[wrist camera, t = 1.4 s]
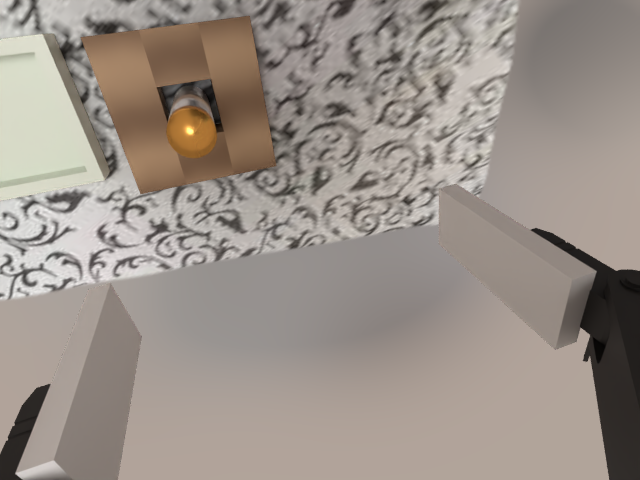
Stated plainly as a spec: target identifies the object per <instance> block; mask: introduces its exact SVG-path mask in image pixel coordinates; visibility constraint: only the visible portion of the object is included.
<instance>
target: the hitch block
mask: <svg viewBox="0 0 640 480" xmlns="http://www.w3.org/2000/svg"><path fill="white" fill-rule="evenodd" d="M81 40H82V42H83V45H84V48H85V50H86V53H87V55H88V58H89V61H90V63H91V66H92V68H93V71H94V74H95V76H96V79H97V81H98V84H99V87H100V89H101V92H102V94H103V97H104V100H105V102H106V105H107V108H108V110H109V113H110V115H111V118H112V121H113V123H114V126H115V128H116V131H117V134H118V136H119V139H120V141H121V144H122V147H123V149H124V152H125V154H126V157H127V160H128V162H129V165H130V168H131V170H132V173H133V175H134V178H135V181H136V183H137V186H138V188H139V191H140V194H143V193H148V192H153V191H158V190H163V189H167V188H172V187H177V186H182V185H187V184H192V183H196V182H201V181H206V180H211V179H216V178H221V177H225V176H230V175H235V174H240V173H245V172H250V171H255V170H259V169H264V168H269V167H274V166H276V161H275V156H274V150H273V145H272V139H271V133H270V128H269V122H268V116H267V111H266V105H265V100H264V94H263V88H262V83H261V77H260V71H259V66H258V60H257V55H256V49H255V43H254V38H253V32H252V26H251V21H250V16H245V17H237V18H229V19H221V20H214V21H206V22H198V23H190V24H182V25H174V26H166V27H158V28H151V29H143V30H135V31H127V32H119V33H111V34H103V35H95V36H88V37H81ZM206 79H211V83H212V87H213V92H214V96H215V100H216V104H217V108H218V112H219V116H220V121H221V123H219V124H215V127H216V131H217V141H216V144H215V146H214V148H213V149H212V151H211V152H210V153H208V154H207V155H205V156H203V157H200V158H188V157H185V156H182V155H180V154H179V153H177V152H176V151H175V150H174V149H173V148H172V147H171V145H170V144H169V142H168V139H167V134H166V129H167V124H168V120H169V116H170V114H169V111H168V108H167V105H166V101H165V98H164V95H163V92H162V88H161V86H168V85H174V84H181V83H187V82H193V81H200V80H206Z"/></svg>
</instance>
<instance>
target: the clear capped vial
mask: <svg viewBox="0 0 640 480" xmlns="http://www.w3.org/2000/svg"><path fill="white" fill-rule="evenodd" d="M166 134H167V139H168V142H169V144H170V145H171V147H172V148H173V149H174V150H175V151H176V152H177V153H179V154H180V155H182V156H185V157H188V158H200V157H203V156H205V155H207V154H208V153H210V152H211V151H212V149H213V148H214V146H215V144H216V141H217V131H216V127H215V123H214V119H213V115H212V111H211V108H210V104H209V100H208V97H207V95H206V94H205V93H204V91H203V90H201V89H200V88H198V87H196V86H192V85H187V86H183V87H181V88H180V89H179V90H178V91H177V92H176V94H175V96H174V100H173V104H172V108H171V112H170V116H169V120H168V124H167V129H166Z"/></svg>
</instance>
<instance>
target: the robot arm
mask: <svg viewBox="0 0 640 480" xmlns="http://www.w3.org/2000/svg"><path fill="white" fill-rule="evenodd" d="M439 245H441V246H442V247H443V248H444V249H445V250H446V251H447V252H448V253H449V254H450V255H451V256H453V257H454V258H455V259H456V260H457V261H458V262H459V263H460V264H461V265H463V266H464V267H465V268H466V269H467V270H468V271H469V272H470V273H471V274H472V275H473V276H475V277H476V278H477V279H478V280H479V281H480V282H481V283H482V284H483V285H484V286H486V287H487V288H488V289H489V290H490V291H491V292H492V293H493V294H494V295H495V296H497V297H498V298H499V299H500V300H501V301H502V302H503V303H504V304H505V305H506V306H508V307H509V308H510V309H511V310H512V311H513V312H514V313H515V314H516V315H517V316H518V317H520V318H521V319H522V320H523V321H524V322H525V323H526V324H527V325H528V326H529V327H531V328H532V329H533V330H534V331H535V332H536V333H537V334H538V335H539V336H541V337H542V338H543V339H544V340H545V341H546V342H547V343H548V344H549V345H550V346H551V347H553V348H554V349H555V350H556V349H559V348H561V347H564V346H567V345H569V344H572V343H574V342H576V341H577V338H578V334H579V331H580V327H581V328H582V329H583V330H585V331H586V332H587V333H589V334H590V338H589V341H588V345H587V348H586V351H585V354H584V359H583V361H586V362H587V361H588V358H589V356H590V358H591V364H592V370H593V377H594V383H595V389H596V396H597V402H598V409H599V416H600V422H601V429H602V435H603V442H604V448H605V454H606V461H607V468H608V474H609V480H640V271H637V270H618V271H615V270H614V269H612V268H610V267H608V266H607V265H605V264H603V263H602V262H600V261H598V260H597V259H595V258H593V257H592V256H590V255H588V254H586V253H585V252H583V251H581V250H580V249H576V247H575V246H573V245H571V244H570V243H566V242H565V240H563V239H561V238H559V237H558V236H556V235H554V234H553V233H550V232H547V231H544V230H540V229H537V228H535V229H532V230H529V229H528V228H526V227H524V226H523V225H521V224H520V223H518V222H516V221H514V220H513V219H512V218H510V217H508V216H507V215H505V214H504V213H502V212H500V211H499V210H497V209H495V208H494V207H492V206H491V205H489V204H487V203H486V202H484V201H482V200H481V199H479V198H478V197H476V196H475V195H473V194H471V193H470V192H468V191H466V190H465V189H463V188H462V187H460V186H458V185H457V184H454V185H450V186H447V187H443V188H440V189H439ZM141 338H142V336H141V335H140V333H139V331H138V329H137V327H136V326H135V324H134V322H133V321H132V319H131V317H130V315H129V314H128V312H127V310H126V309H125V307H124V305H123V304H122V302H121V300H120V298H119V297H118V295H117V293H116V292H115V290H114V288H113V286H112V285H111V283H108V284H105V285H101V286H98V287H94V288H91V289H88V291H87V294H86V296H85V299H84V301H83V304H82V307H81V309H80V312H79V314H78V317H77V319H76V322H75V324H74V327H73V330H72V332H71V334H70V337H69V339H68V342H67V345H66V347H65V349H64V352H63V354H62V357H61V359H60V362H59V364H58V367H57V370H56V372H55V375H54V377H53V380H52V382H51V384H48V385H45V386H42V387H38V388H36V389H35V390H34V392H33V393H32V394H31V395H30V397H29V398H28V399H27V400H26V402H25V403H24V404H23V405H22V407H21V409H20V412H19V414H18V416H17V418H16V420H15V426H13V427H12V429H11V431H10V434H9V436H8V441H6V443H5V445H4V447H3V449H2V451H1V454H0V480H118V475H119V470H120V463H121V458H122V452H123V445H124V439H125V434H126V427H127V422H128V415H129V410H130V404H131V398H132V392H133V386H134V380H135V373H136V368H137V361H138V355H139V350H140V344H141Z"/></svg>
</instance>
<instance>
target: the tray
mask: <svg viewBox="0 0 640 480" xmlns="http://www.w3.org/2000/svg"><path fill="white" fill-rule="evenodd" d="M109 172H110V169H109V166H108V164H107V162H106V159H105V157H104V154H103V152H102V149H101V147H100V145H99V142H98V140H97V137H96V135H95V133H94V130H93V128H92V125H91V123H90V120H89V118H88V116H87V113H86V111H85V108H84V106H83V104H82V101H81V99H80V96H79V94H78V91H77V89H76V87H75V84H74V82H73V79H72V77H71V75H70V72H69V70H68V67H67V65H66V62H65V60H64V58H63V55H62V53H61V50H60V48H59V45H58V43H57V41H56V38H55V36H54V34H38V35H30V36H22V37H14V38H6V39H0V201H2V200H7V199H12V198H18V197H23V196H28V195H33V194H38V193H43V192H48V191H53V190H58V189H63V188H68V187H74V186H79V185H84V184H89V183H94V182H99V181H104V180H105V179H106V178H107V176H108V174H109Z"/></svg>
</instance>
